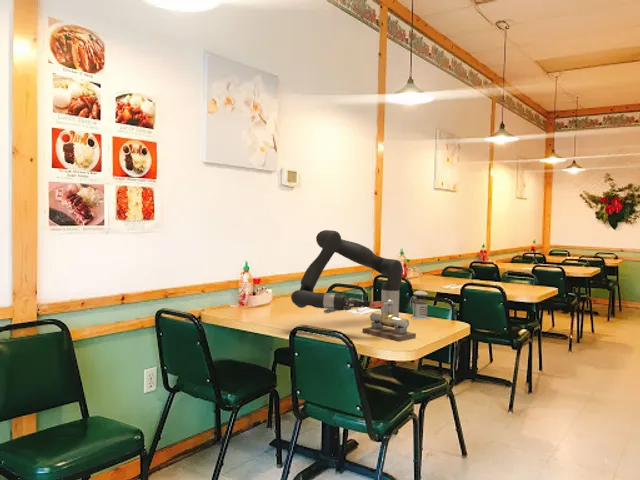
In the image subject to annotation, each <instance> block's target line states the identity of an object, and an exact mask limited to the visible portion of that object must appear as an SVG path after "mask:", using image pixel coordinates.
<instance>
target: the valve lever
mask: <svg viewBox="0 0 640 480" xmlns="http://www.w3.org/2000/svg"><path fill="white" fill-rule="evenodd" d="M385 304H387V305H393V300H391V299H387V300H386V301H384V302H382V301H381V300H376V301H371V302H370V307H369V308H372V309H373V308H375V309H377V308H381V307H382V306H384V305H385Z"/></svg>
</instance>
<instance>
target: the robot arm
mask: <svg viewBox="0 0 640 480" xmlns="http://www.w3.org/2000/svg"><path fill="white" fill-rule="evenodd" d="M315 240H316V244H317V245H318V246H319V247H320V248H321V251H320V252H319V253H318V255H317V257H316V258H315V259H314V260H313V261H312V262H311V263H310V265H308V267H307V268H306V270H305V271H304V274H303V276H302V277H301V280H300V288H299V289H296V290H294V291H293V292H292V294H291V296H290V298H291V301H292V304H294V305H295V306H296V307H298V308H300V309H303V308H306V307H308V306H311V307H312V308H316V309H324V310H326V309H331V310H332V311H334V310H335V311H345V310H346V308H345V307H346V306H348V307H349V308H351V309H352V308H362V307H363V308H365V307H367V308H368V307H369V308H371V307H370V302H372V301H370V300H369V301H366V300H364V299H361V298H356V297H355V298H354V297H349V298H347V295H346V294H345V293H336V292H315V291H314V289H315V287H316V286H317V283H318V281H319V279H320V277H321V275H322V273H323V271H324V269H325V268H326V266H327V265H328V263H329V262H330V260H331V259H332V257H333V255H334V254H338V255H340V256H342V257H344V258H346V259H348V260H349V261H351V262H354V263H356V264H358V265H361V266H364V267H366V268H370V269H372V270H374V271H376V272H378V273H379V274H380V275H382V276H384V277H387V279H386V282H383V283H382V285H381V297H380V298H381V300H380V301H382V302H384V301H386V300H387V299H391V300H393V305H391V314H393V315H397V317H398V318H400V317H399V316H400V315H399V314H400V312H399V311H400V288H401V285H402V278H403V265H402V262H401V261H400V260H398V259H394V258H393V259H392V258H385V257H382V256H379V255H377V254H376V253H374V252H373V250H372V249H370V248H368V247H367V246H365V245H362V244H360V243H356V242H355V241H354V242H353V241H350V240H347V239H346V240H345V239H342V236H341V234H340V233H339V232H338V231H336V230H331V229H330V230H329V229H326V230H321V231H319V232H318V233H317V235H316V237H315ZM383 313H388V305H387V304H385V305H384V306H382V307H380V314H383Z"/></svg>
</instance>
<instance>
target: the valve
mask: <svg viewBox="0 0 640 480" xmlns="http://www.w3.org/2000/svg"><path fill="white" fill-rule="evenodd" d="M345 310H347V311H349V310H352V308H349V307H348V306H346V307H345ZM331 311H333V310H331V309H324V310H323V312H324V313H329V312H331Z"/></svg>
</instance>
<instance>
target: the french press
mask: <svg viewBox="0 0 640 480" xmlns="http://www.w3.org/2000/svg"><path fill="white" fill-rule="evenodd" d="M423 275H424V273H421V272H420V273H419V276H420V277H422V276H423ZM414 295H415V296H414ZM416 295H417V296H420V297H419V298H420V299H416ZM427 295H429V294H428V292H426V291H424V290H422V289H420V290H416V291H414V292H413V296H412V297H411V298H410V301H409V305H410V307H411V308H412V316H410V318H411V319H413V320H419V321H426V320H429V317H428V303H427V302H428V301H427V300H426V299H421V296H427ZM412 298H413V299H412ZM411 301H412V302H411Z"/></svg>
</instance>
